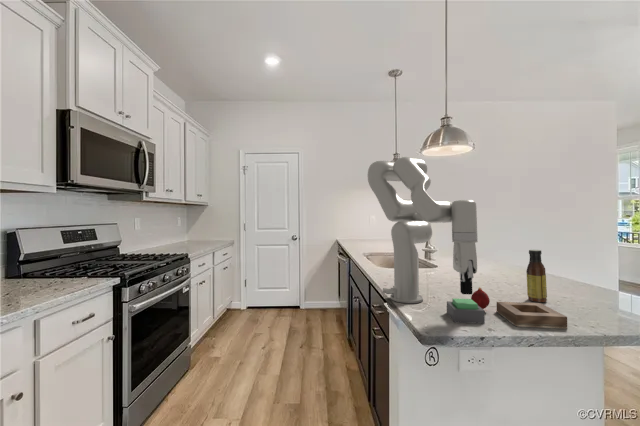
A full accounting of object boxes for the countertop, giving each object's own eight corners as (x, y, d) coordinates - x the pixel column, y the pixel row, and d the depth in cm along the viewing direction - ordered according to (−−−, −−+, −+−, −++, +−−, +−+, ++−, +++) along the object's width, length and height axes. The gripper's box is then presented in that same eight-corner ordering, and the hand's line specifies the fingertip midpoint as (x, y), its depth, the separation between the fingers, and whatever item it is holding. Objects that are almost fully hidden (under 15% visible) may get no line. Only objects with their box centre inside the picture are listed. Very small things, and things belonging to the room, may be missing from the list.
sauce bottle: (540, 298, 122) (540, 249, 122) (550, 303, 116) (550, 251, 116) (523, 298, 123) (522, 249, 123) (532, 302, 117) (532, 250, 117)
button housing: (454, 322, 97) (454, 309, 97) (446, 312, 106) (446, 301, 106) (484, 323, 95) (484, 310, 95) (474, 313, 104) (474, 302, 104)
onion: (493, 312, 105) (492, 289, 105) (476, 312, 105) (475, 289, 105) (484, 307, 111) (484, 285, 111) (468, 307, 111) (468, 285, 111)
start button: (457, 312, 98) (457, 303, 98) (452, 307, 104) (452, 298, 104) (477, 313, 97) (477, 304, 97) (471, 307, 103) (471, 298, 103)
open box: (516, 326, 93) (516, 314, 93) (496, 311, 107) (496, 301, 107) (567, 328, 91) (567, 316, 91) (540, 313, 104) (540, 303, 104)
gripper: (446, 236, 108) (448, 288, 108) (459, 239, 93) (461, 299, 93) (469, 236, 107) (470, 288, 107) (485, 239, 92) (487, 299, 92)
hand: (466, 293), depth 100 cm, fingers closed
